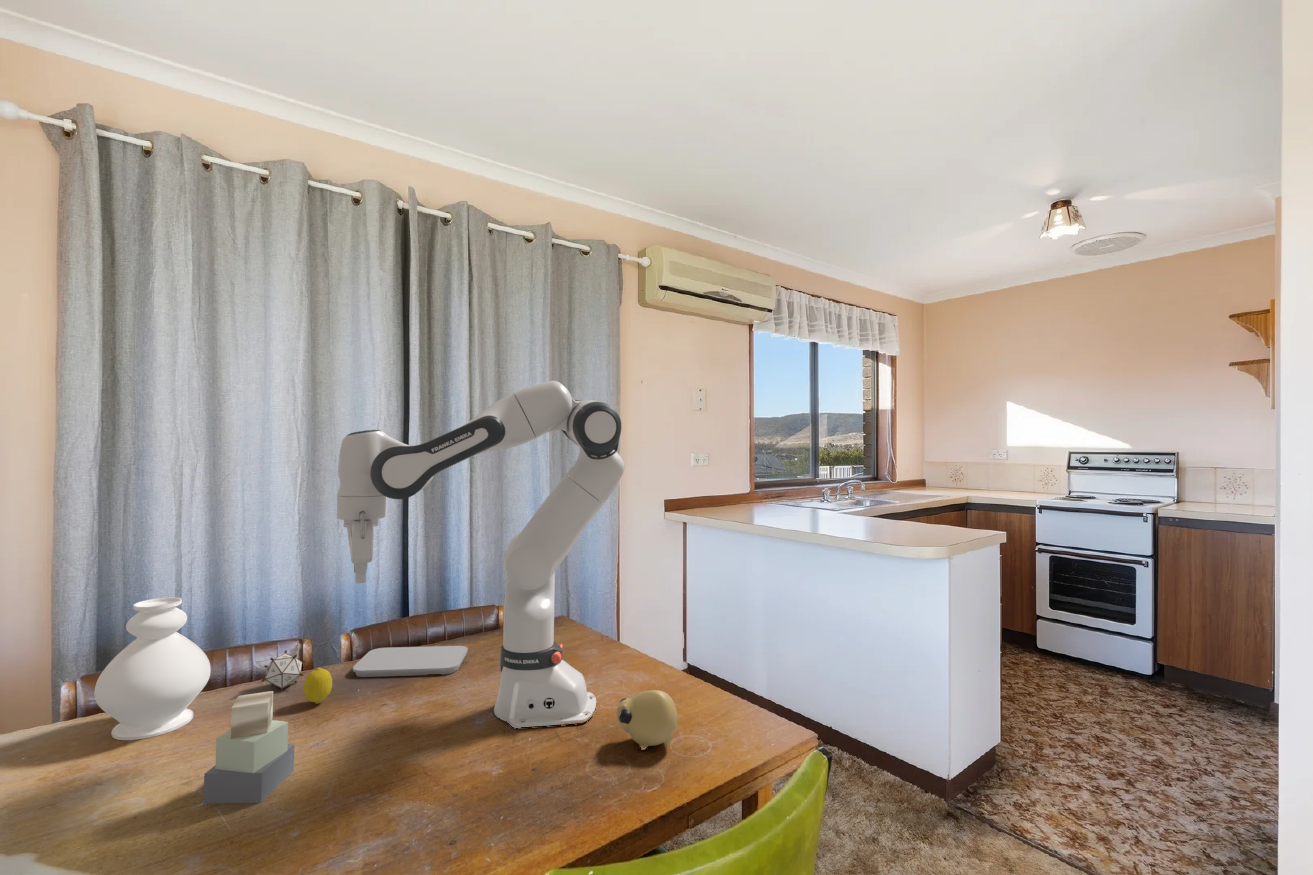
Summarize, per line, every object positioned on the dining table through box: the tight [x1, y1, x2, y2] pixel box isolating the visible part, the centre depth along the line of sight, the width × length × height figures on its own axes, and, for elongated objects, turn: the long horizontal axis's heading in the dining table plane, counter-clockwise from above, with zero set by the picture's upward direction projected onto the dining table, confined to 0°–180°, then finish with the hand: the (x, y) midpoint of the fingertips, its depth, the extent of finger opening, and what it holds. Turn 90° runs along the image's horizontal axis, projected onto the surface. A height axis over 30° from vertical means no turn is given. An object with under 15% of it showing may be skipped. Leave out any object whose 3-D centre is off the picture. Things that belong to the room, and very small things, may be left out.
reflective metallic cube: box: [230, 690, 274, 739], centre depth 96 cm, size 5×5×5 cm
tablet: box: [352, 645, 469, 678], centre depth 151 cm, size 16×26×2 cm, turn 97°
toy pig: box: [616, 689, 678, 748], centre depth 113 cm, size 10×12×11 cm
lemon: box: [303, 667, 333, 705], centre depth 127 cm, size 6×6×8 cm
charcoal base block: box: [202, 743, 295, 805], centre depth 96 cm, size 9×9×5 cm
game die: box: [260, 649, 307, 693], centre depth 135 cm, size 9×8×10 cm
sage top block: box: [214, 719, 289, 773], centre depth 96 cm, size 7×7×5 cm
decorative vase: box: [93, 596, 212, 741], centre depth 117 cm, size 18×18×25 cm
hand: (359, 577), depth 116 cm, fingers open, 8 cm apart
